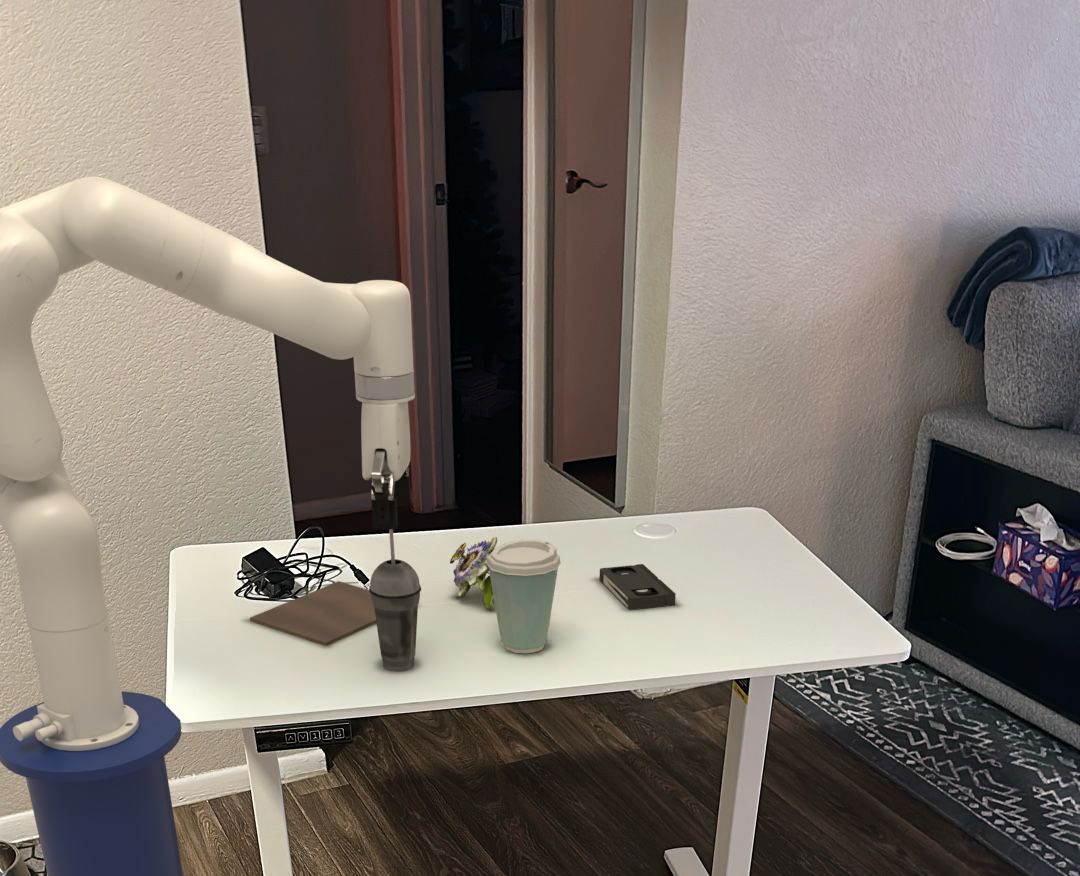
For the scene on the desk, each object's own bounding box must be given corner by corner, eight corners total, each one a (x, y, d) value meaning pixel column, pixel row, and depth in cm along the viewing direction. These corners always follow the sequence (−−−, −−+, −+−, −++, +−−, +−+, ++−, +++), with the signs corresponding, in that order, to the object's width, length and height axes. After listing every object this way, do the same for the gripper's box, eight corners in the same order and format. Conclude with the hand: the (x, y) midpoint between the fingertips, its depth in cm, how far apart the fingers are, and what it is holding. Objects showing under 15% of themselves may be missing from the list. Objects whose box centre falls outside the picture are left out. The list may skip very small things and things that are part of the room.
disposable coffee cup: (512, 665, 185) (513, 565, 177) (473, 640, 192) (472, 543, 184) (572, 649, 190) (575, 552, 182) (531, 626, 197) (533, 531, 190)
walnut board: (326, 646, 190) (325, 642, 189) (249, 620, 197) (249, 617, 197) (413, 606, 204) (412, 603, 203) (338, 583, 211) (338, 581, 211)
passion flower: (462, 628, 210) (439, 559, 210) (524, 610, 212) (501, 541, 212) (470, 613, 199) (446, 540, 199) (535, 594, 201) (511, 521, 201)
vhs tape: (598, 579, 215) (599, 568, 214) (642, 575, 217) (642, 563, 216) (628, 610, 204) (629, 598, 203) (674, 605, 206) (675, 593, 205)
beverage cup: (377, 677, 180) (370, 540, 170) (369, 657, 186) (361, 523, 176) (428, 672, 182) (424, 536, 172) (418, 652, 188) (413, 519, 178)
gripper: (369, 370, 171) (377, 496, 180) (341, 401, 157) (351, 537, 166) (425, 371, 171) (430, 498, 180) (401, 403, 156) (408, 539, 165)
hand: (392, 516), depth 173 cm, fingers open, 9 cm apart
